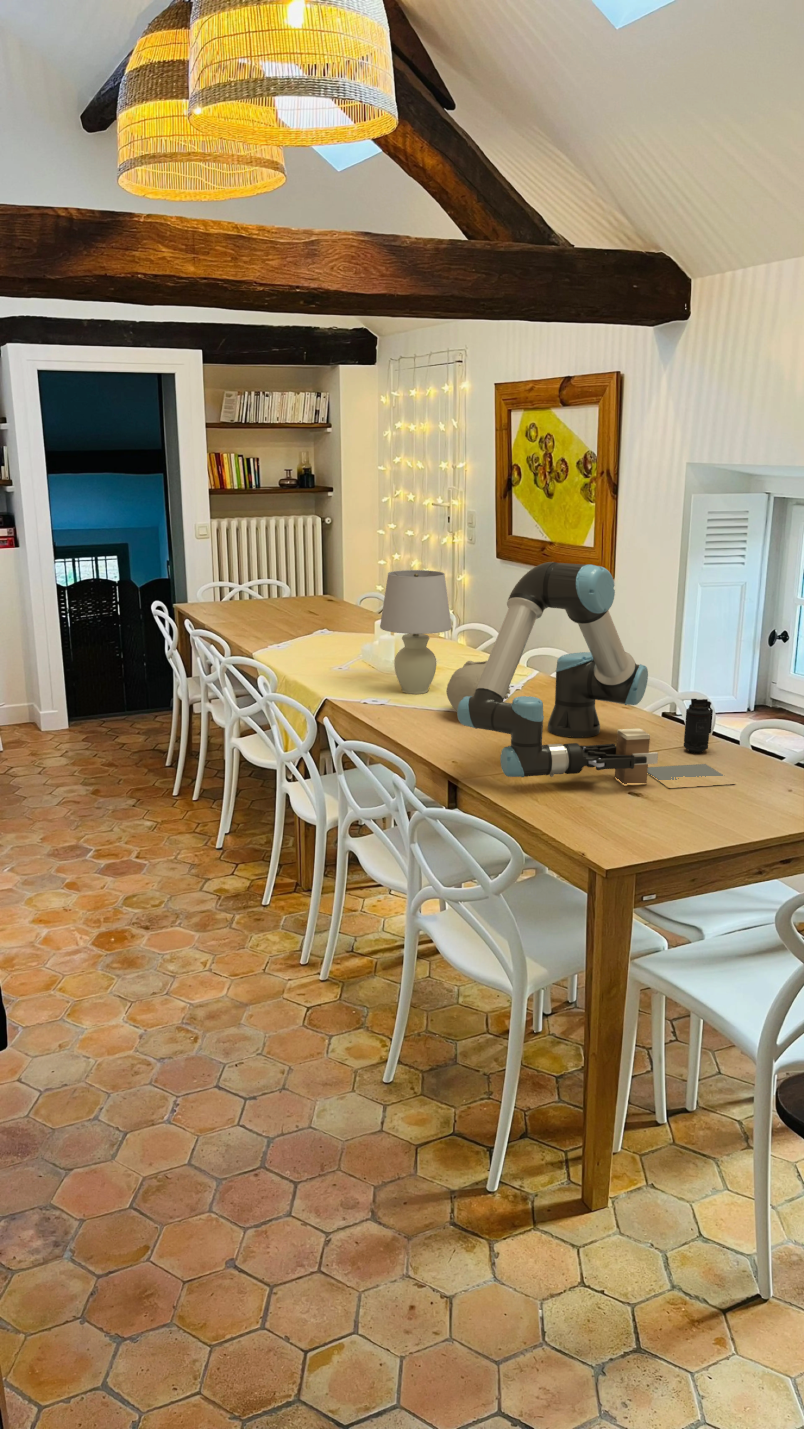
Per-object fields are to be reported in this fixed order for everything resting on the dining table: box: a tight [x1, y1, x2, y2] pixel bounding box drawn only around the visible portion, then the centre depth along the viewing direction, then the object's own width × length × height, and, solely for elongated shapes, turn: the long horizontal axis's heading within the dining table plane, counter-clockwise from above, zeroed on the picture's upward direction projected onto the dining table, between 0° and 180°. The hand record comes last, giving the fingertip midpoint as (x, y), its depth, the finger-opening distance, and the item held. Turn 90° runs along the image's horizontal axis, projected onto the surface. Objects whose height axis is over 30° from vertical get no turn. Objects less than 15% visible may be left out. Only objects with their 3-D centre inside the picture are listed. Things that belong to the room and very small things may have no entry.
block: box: [614, 728, 651, 784], centre depth 266 cm, size 6×6×13 cm
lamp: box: [379, 569, 452, 695], centre depth 356 cm, size 24×24×40 cm
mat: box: [647, 763, 724, 780], centre depth 271 cm, size 16×18×1 cm
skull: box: [446, 660, 511, 713], centre depth 327 cm, size 20×25×20 cm
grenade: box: [683, 698, 714, 754], centre depth 292 cm, size 7×7×15 cm
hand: (651, 754), depth 266 cm, fingers closed on block, 6 cm apart
